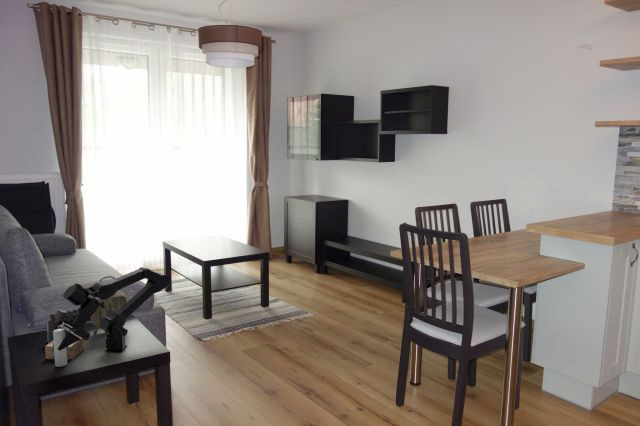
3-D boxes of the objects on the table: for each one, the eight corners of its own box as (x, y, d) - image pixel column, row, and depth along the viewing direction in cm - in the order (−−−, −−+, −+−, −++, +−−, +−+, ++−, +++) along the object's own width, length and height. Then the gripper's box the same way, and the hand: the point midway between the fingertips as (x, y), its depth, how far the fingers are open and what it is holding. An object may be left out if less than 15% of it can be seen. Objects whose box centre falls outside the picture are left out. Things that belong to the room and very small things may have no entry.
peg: (69, 362, 192) (67, 328, 190) (63, 366, 188) (61, 332, 186) (58, 362, 192) (56, 328, 190) (53, 366, 188) (50, 332, 186)
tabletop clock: (122, 325, 232) (120, 271, 228) (130, 331, 225) (128, 275, 222) (89, 333, 222) (86, 277, 218) (97, 339, 215) (94, 281, 212)
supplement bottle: (58, 344, 210) (56, 316, 208) (44, 343, 211) (42, 315, 209) (70, 338, 216) (68, 310, 215) (55, 337, 218) (54, 309, 216)
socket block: (84, 348, 206) (83, 336, 205) (71, 359, 196) (71, 346, 195) (59, 348, 206) (58, 336, 205) (45, 358, 196) (45, 346, 195)
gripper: (58, 295, 195) (28, 331, 189) (79, 306, 183) (49, 344, 177) (80, 310, 202) (52, 345, 196) (102, 322, 190) (73, 359, 183)
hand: (56, 348), depth 188 cm, fingers closed on peg, 4 cm apart
